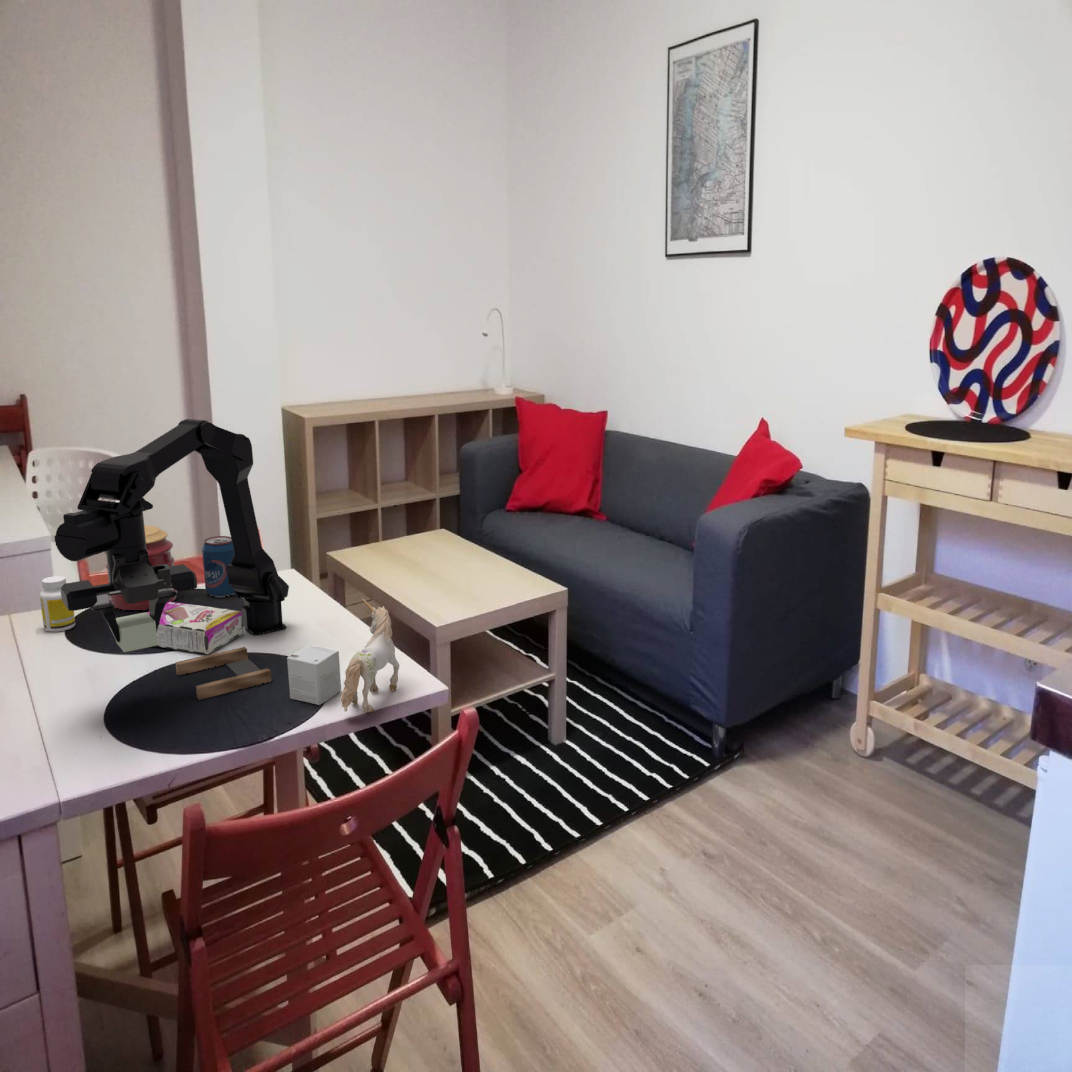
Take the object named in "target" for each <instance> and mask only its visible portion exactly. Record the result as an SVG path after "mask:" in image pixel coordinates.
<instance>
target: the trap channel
mask: <svg viewBox="0 0 1072 1072" xmlns="http://www.w3.org/2000/svg"><path fill="white" fill-rule="evenodd" d="M232 662H234V663H232ZM224 664H226V665H224ZM221 665H222V666H226V667H227V666H228V667H227V668H228V669H229V668H230V669H229V670H230V671H231V672H232V671H233V672H232V673H233V674H234V673H235V674H234V675H235V676H231V677H227V678H223V679H219V680H214V681H210V682H206V683H202V684H199V685H195V693H196V698H197V700H198V701H201V700H204V699H209V698H213V697H217V696H220V695H225V694H228V693H232V692H236V691H239V689H241V690H243V689H248V688H251V687H256V686H259V685H263V684H262V683H264V684H267V682H268V683H271V681H272V671H271V669H269V668H263V669H260V668H259V667H258V666H257V664H255V663H254V662H253V661H252V660H251V659H250V658H249V657H248V648H246V646H242V647H237V648H232V649H230V650H229V649H228V650H225V651H220V652H214V653H212V654H211V653H209V654H205V655H201V656H199V657H193V658H189V659H185V660H179V661H177V662H176V661H175V673H176V675H177V676H178V675H179V676H183V675H187V674H186V673H188V674H192V673H196V672H200V671H205V670H208V668H209V669H213V668H217V667H220V666H221ZM215 666H216V667H215ZM204 669H205V670H204ZM236 675H237V676H236ZM255 685H256V686H255Z"/></svg>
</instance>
